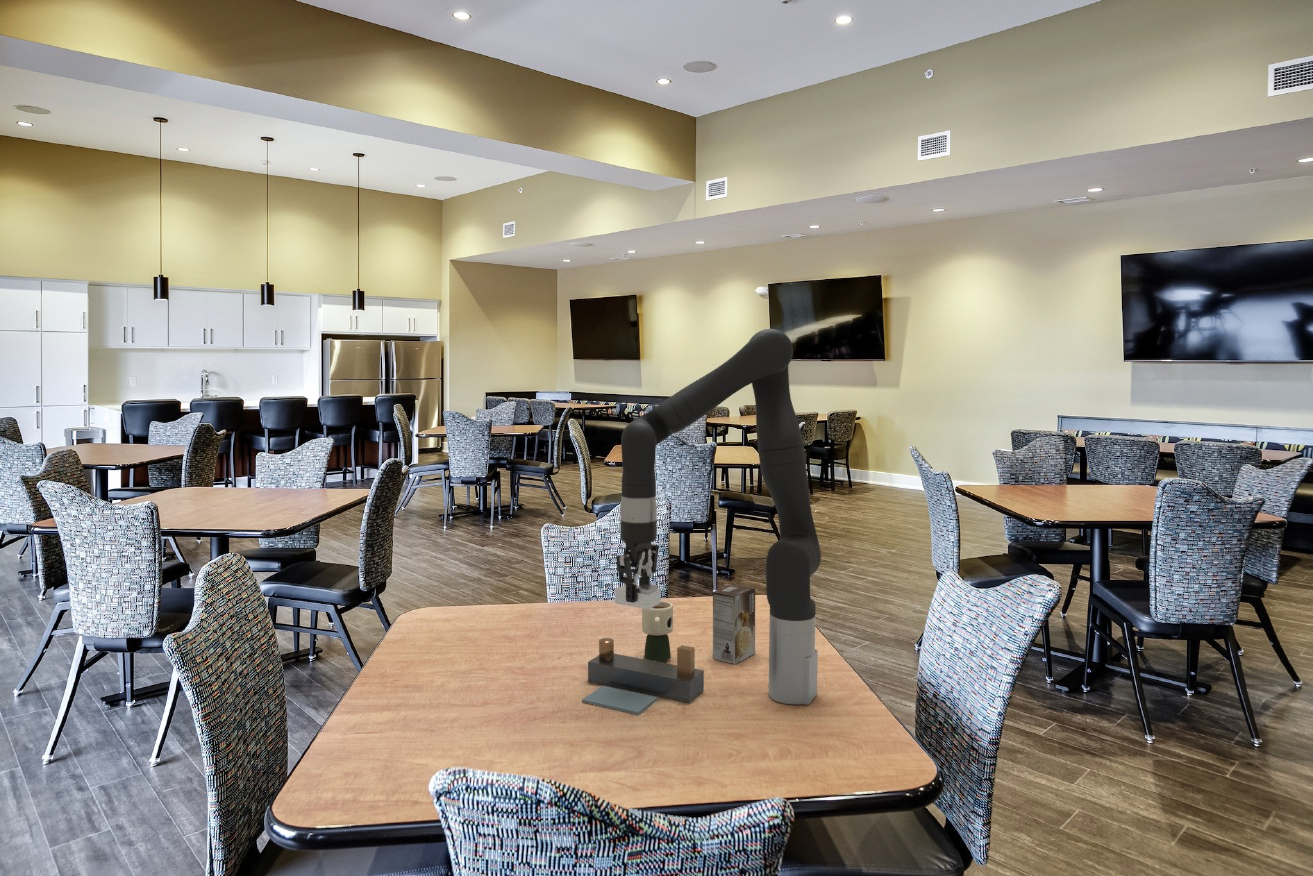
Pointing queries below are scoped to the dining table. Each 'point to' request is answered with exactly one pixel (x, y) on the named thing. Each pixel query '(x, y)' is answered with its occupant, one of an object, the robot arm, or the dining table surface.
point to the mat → (620, 700)
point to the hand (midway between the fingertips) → (638, 598)
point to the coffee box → (733, 623)
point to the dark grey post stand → (648, 673)
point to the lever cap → (640, 596)
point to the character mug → (657, 631)
